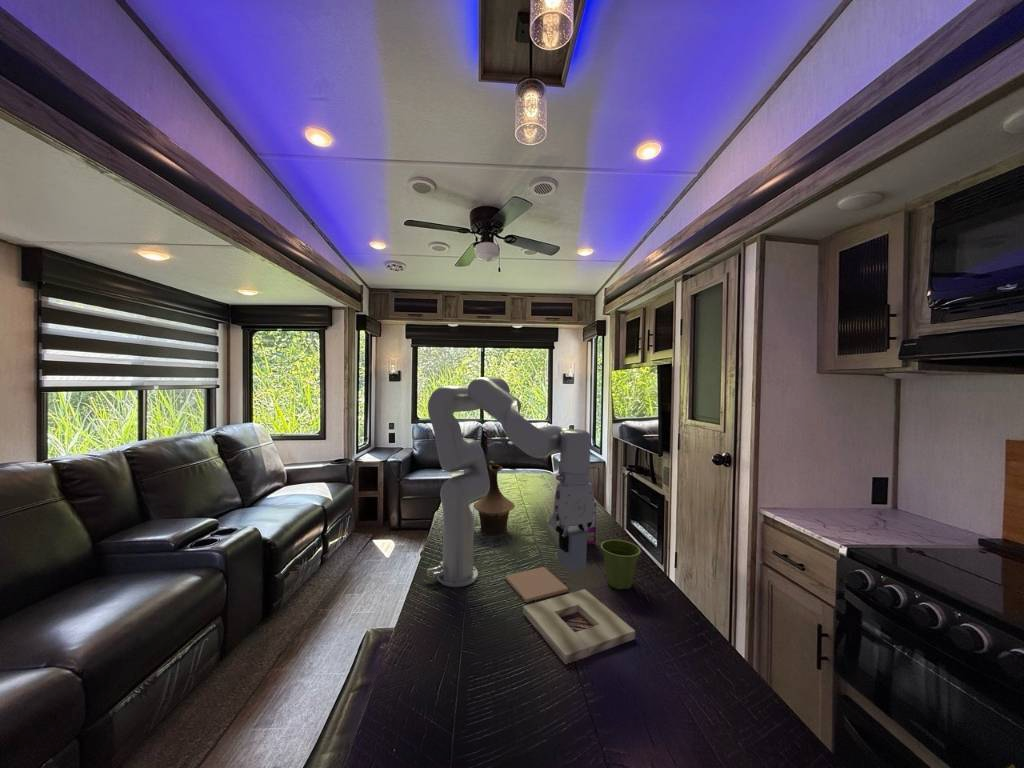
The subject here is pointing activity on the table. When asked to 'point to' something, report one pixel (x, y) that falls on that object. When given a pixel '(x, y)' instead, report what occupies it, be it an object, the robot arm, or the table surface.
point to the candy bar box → (591, 531)
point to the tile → (535, 584)
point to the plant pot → (620, 562)
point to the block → (574, 550)
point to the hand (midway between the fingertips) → (572, 547)
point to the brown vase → (493, 505)
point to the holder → (583, 642)
